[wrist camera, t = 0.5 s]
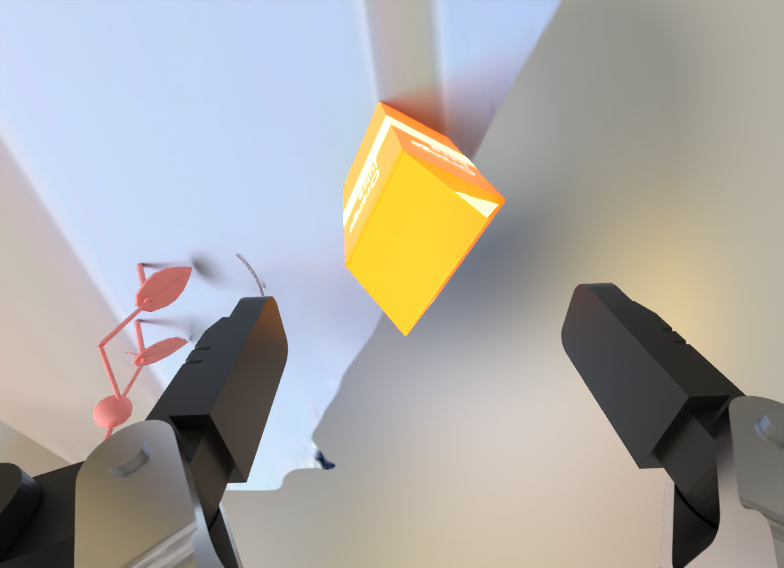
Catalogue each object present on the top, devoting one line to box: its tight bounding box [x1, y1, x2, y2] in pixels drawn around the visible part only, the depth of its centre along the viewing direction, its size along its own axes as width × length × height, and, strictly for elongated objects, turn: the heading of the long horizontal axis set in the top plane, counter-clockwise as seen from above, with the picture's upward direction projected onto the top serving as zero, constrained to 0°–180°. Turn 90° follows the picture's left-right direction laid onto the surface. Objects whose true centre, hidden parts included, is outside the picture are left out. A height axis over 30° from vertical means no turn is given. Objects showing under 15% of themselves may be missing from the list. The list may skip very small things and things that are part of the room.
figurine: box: [63, 254, 264, 468], centre depth 28 cm, size 15×26×35 cm, turn 154°
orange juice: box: [343, 101, 505, 337], centre depth 26 cm, size 8×9×20 cm
